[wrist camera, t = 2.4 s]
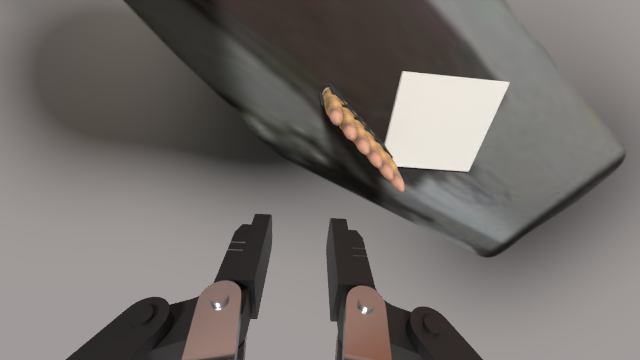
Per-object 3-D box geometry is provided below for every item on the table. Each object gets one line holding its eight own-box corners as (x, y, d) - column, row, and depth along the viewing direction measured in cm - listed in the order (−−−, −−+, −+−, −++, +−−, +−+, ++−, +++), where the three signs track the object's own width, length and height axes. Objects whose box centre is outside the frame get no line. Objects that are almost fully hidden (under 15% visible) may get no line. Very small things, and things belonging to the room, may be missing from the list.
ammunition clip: (383, 143, 32) (417, 191, 21) (372, 151, 32) (400, 203, 22) (329, 82, 28) (339, 105, 17) (318, 93, 28) (321, 123, 18)
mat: (379, 163, 33) (380, 165, 33) (401, 71, 27) (403, 71, 27) (466, 170, 34) (468, 171, 34) (507, 82, 28) (509, 82, 28)
